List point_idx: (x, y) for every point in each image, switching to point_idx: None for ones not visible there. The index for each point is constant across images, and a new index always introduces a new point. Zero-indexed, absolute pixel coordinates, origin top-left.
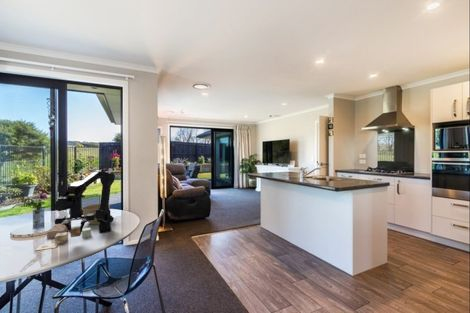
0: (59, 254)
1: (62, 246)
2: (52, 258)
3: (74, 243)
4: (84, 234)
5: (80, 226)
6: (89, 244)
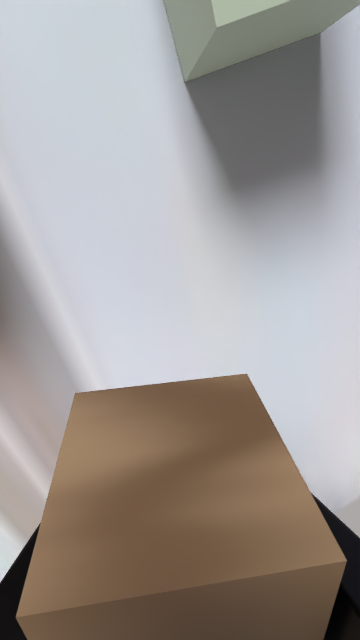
0: None
1: (4, 376)
2: None
3: (124, 316)
4: (230, 51)
5: (319, 598)
6: (304, 393)
